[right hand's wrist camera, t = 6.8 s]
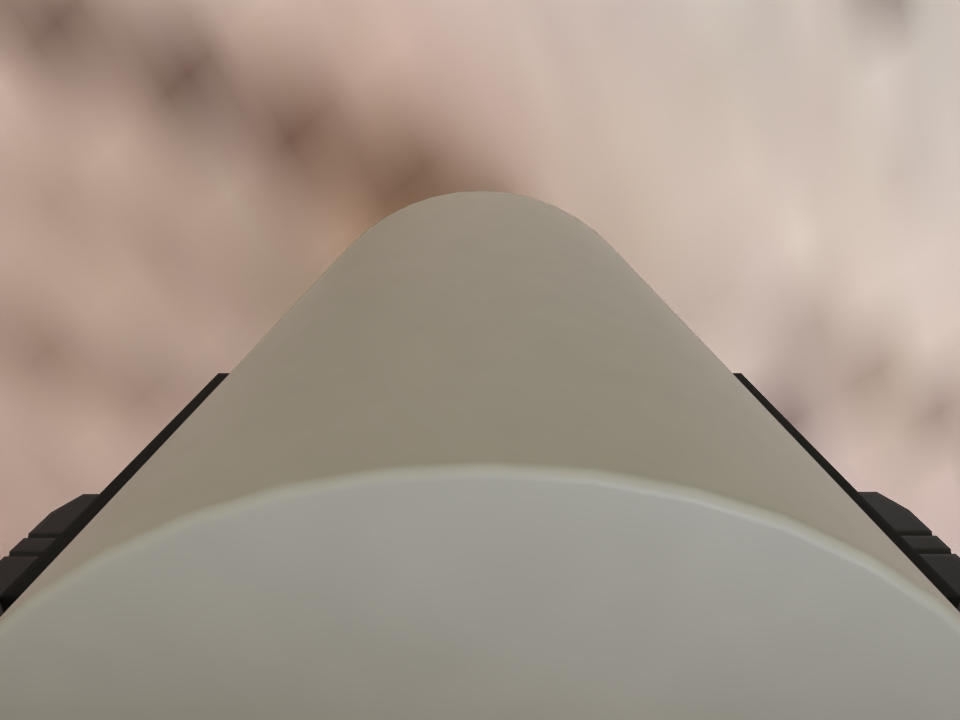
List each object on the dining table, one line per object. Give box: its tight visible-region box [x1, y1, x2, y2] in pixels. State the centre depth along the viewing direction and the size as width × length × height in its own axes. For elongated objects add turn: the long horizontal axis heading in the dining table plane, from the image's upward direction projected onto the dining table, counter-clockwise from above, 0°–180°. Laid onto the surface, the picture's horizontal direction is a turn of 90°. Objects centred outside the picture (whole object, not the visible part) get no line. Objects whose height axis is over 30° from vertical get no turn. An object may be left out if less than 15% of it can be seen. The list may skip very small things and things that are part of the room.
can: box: [0, 191, 960, 720], centre depth 11 cm, size 9×9×13 cm
